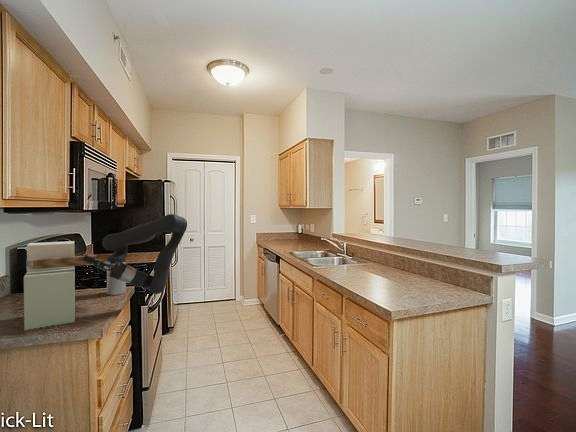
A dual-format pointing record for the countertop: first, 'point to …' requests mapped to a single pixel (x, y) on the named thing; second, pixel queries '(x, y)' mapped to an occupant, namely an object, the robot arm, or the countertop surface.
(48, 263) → the walnut block
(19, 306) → the countertop surface
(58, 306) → the stepped stand
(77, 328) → the countertop surface
